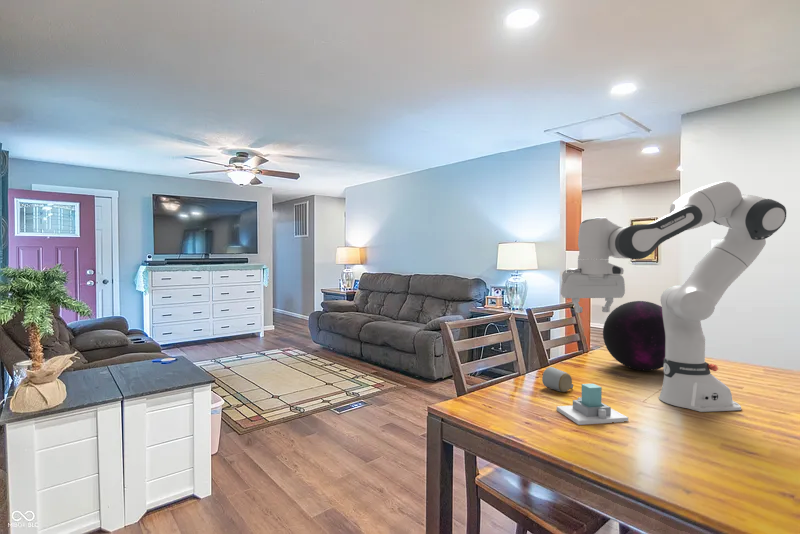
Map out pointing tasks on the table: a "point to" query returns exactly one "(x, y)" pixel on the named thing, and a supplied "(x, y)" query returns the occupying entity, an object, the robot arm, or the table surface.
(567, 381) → the ceramic mug
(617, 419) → the housing plate
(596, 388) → the block
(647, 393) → the table surface
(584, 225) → the robot arm
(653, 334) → the black purple ball
